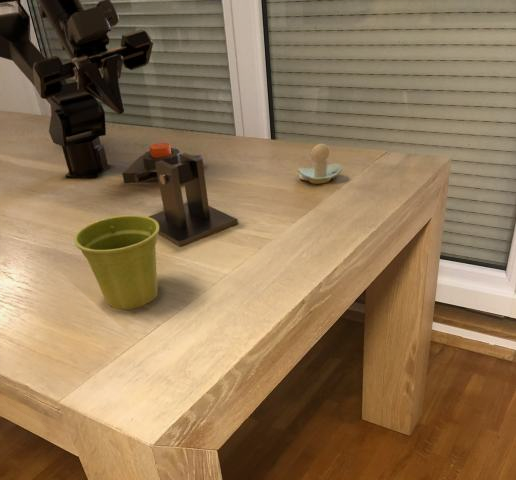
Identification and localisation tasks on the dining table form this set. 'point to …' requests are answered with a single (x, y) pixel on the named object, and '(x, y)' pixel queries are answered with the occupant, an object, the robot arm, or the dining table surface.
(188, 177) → the dark t-shaped lever
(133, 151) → the dining table surface
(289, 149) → the dining table surface
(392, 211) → the dining table surface
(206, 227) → the dark brown stand
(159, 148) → the button
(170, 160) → the block
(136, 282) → the plant pot
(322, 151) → the pacifier
